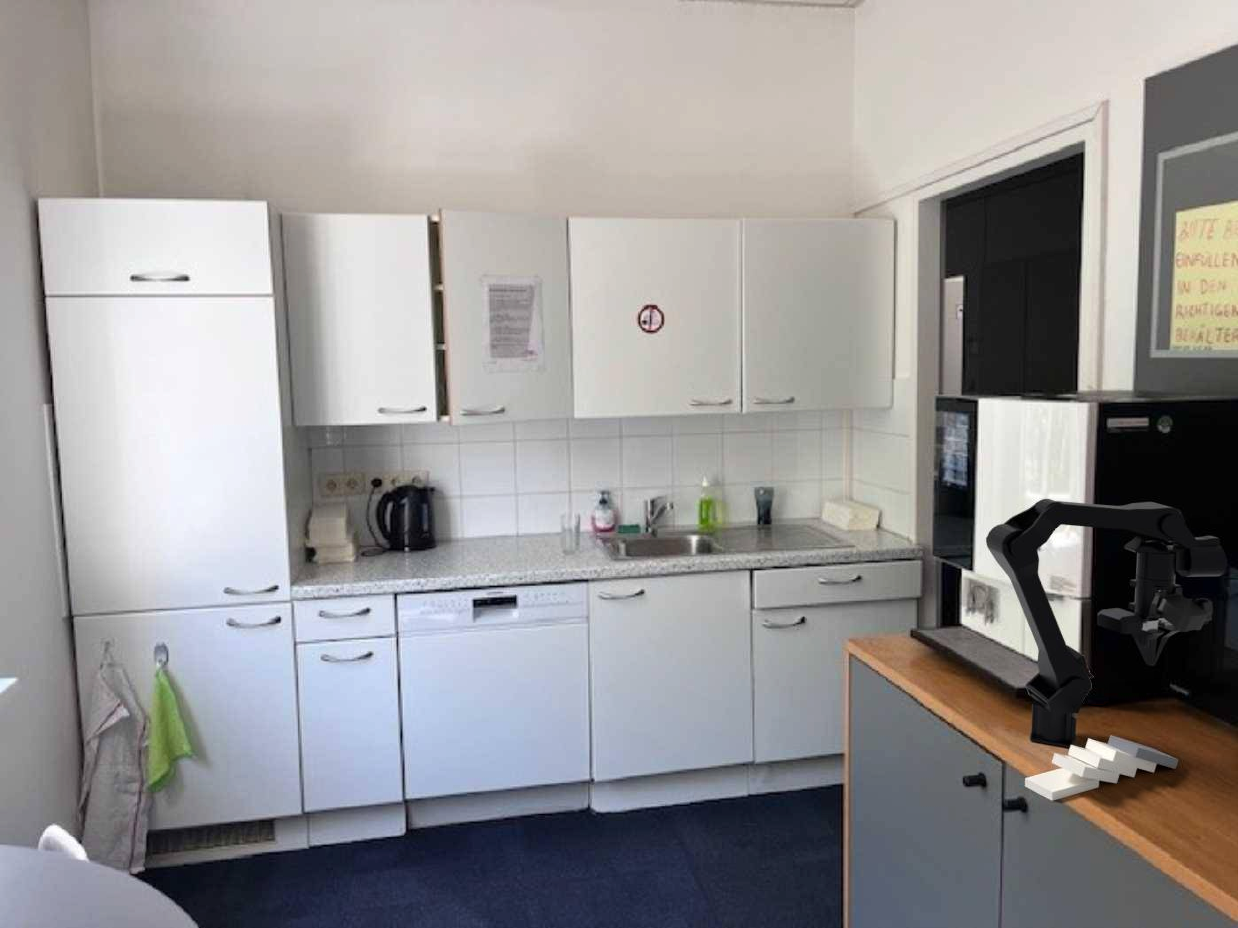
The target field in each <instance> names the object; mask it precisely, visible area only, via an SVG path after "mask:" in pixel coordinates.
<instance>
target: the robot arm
mask: <svg viewBox="0 0 1238 928" xmlns="http://www.w3.org/2000/svg"><path fill="white" fill-rule="evenodd" d="M1061 525H1062V526H1074V527H1075V526H1076V527H1086V528H1094V529H1096V528H1097V529H1108V530H1120V531H1127V532H1131V533H1134V534H1137V535H1141V536H1144V537H1148V538H1152V539H1155V540H1146V539H1145V538H1143V537H1139V536H1136V535H1135V537H1134V538H1133V539H1132V540H1131V541H1129V542H1127V543H1126V544H1124V545H1123V546H1124V549H1125V550H1128V551H1131V552H1134V553H1136V569H1135V570H1136V573H1135V579H1129V586H1130V587H1134V589H1135V590H1134V601H1133V602H1128V609H1129V610H1132V611H1128V610H1125V609H1123V608H1119V607H1115V608H1107V609H1104V608H1103V609H1101V610H1100V611H1098V612H1097V620H1096V622H1097V624H1096V625H1097V626H1098V627H1102V628H1105V629H1108V630H1111V631H1113V632H1115V633H1119V634H1123V635H1130V634H1131V636H1132V638H1133V640H1134V641H1135V643H1136V645H1137V647H1138V649H1139V652H1140V654H1141V656H1142V658H1143V660H1144V663H1145V664H1146V665H1147V666H1150V667H1152V666H1155V665H1156V663H1157V661H1158V660H1159V657H1160V656H1161V653H1162V651H1163V649H1164V647H1165V645H1166V643H1167V641H1168V640H1169V638H1170V637H1171V636H1173V635H1176V634H1177V633H1179V632H1183V633H1187V632H1189V631H1194V630H1195V631H1200V630H1201V629H1202V628H1203V625H1208V624H1209V623H1210V621H1212V620H1213V616H1212V615H1213V612H1214V610H1213V609H1214V608H1213V601H1211V600H1210V599H1208V597H1201V598H1196V599H1195V600H1194V599H1193V598H1186V597H1184V595H1183V588H1182V586H1181V584H1177V583H1176V573H1178V574H1179V575H1180V576H1181V577H1185V578H1186V577H1187V578H1189V577H1194V578H1195V577H1196V578H1197V577H1220V576H1222V575H1223V574H1224V573H1226V570H1227V569H1228V559H1227V556H1226V553H1225V552H1226V551H1224V549H1223V547H1222V546H1221V545H1220V538H1219V537H1216V536H1213V535H1205V536H1199V537H1198V536H1197V537H1196V536H1194V535H1193V533H1192V532H1191V530H1190V528H1188V526H1187V525H1186V520H1185V516H1184V514H1183V513H1182V512H1181V510H1180V509H1178V508H1175V507H1173V506H1168V505H1164V504H1161V503H1157V502H1152V501H1143V502H1134V503H1128V504H1125V505H1108V504H1107V505H1105V504H1095V503H1086V502H1084V503H1083V502H1073V501H1072V502H1071V501H1064V500H1063V501H1062V500H1053V499H1050V498H1042V499H1041V500H1040V499H1039V500H1038V501H1037V502H1035V503H1034V504H1033V505H1032V506H1030V507H1029V508H1027V509H1025V510H1023V511H1021V512H1019V513H1017V514H1016V515H1013V516H1012V517H1010V518H1009V519H1008V520H1006V521H1005V522H1003V523H1000V524H997V525H995V526H993V527H992V528H991V529H990V530H989V532H988V533H987V536H986V537H985V543H986V544H985V545H986V546H987V549H988V550H989V552H990V554H991V555H992V557H993V558H994V560H995V561H996V563H997V565H999V567H1001V569H1002V570H1003V571H1004V573H1005V574H1006V575H1007V576H1008V579H1010V582H1011V584H1012V587H1013V589H1014V592H1015V594H1016V596H1017V600H1018V601H1019V604H1020V607H1021V609H1022V611H1023V614H1024V617H1025V619H1026V622H1027V624H1028V627H1029V629H1030V631H1031V634H1032V636H1033V639H1034V641H1035V644H1036V646H1037V649H1038V652H1037V653H1038V654H1037V661H1036V662H1037V667H1038V672H1037V673H1036V674H1035V675H1034V676H1032V678H1030V680H1029V681H1028V682H1027V683H1026V684H1025V688H1026V690H1027V693H1028V694H1027V695H1028V696H1030V697H1032V698H1033V699H1032V705H1031V729H1030V733H1029V734H1030V735H1029V741H1031V742H1035V743H1041V744H1045V745H1046V744H1048V745H1052V746H1058V747H1065V748H1069V749H1070V746H1071V745H1073V742H1075V741H1076V735H1077V714H1078V713H1080V709H1081V708H1082V706H1083V704H1084V703H1083V701H1084V699H1085V697H1086V696H1087V695H1088V693H1089V691H1090V690H1091V689H1092V683H1091V680H1090V678H1093V677H1094V676H1093V675H1092V674H1091V673H1090V671H1089V670H1088V666H1087V661H1086V659H1085V656H1084V655H1082V654H1080V652H1079V651H1077V650H1076V649H1074V648H1072V647H1071V646H1069V645H1068V644H1067V643H1066V640H1065V638H1064V636H1063V634H1062V631H1061V628H1060V626H1059V624H1058V621H1057V619H1056V616H1055V613H1054V611H1053V608H1052V606H1051V604H1050V600H1049V599H1048V596H1047V593H1046V590H1045V588H1044V585H1043V583H1042V581H1041V578H1040V575H1039V566H1040V557H1039V552H1038V549H1040V548H1041V547H1042V546H1044V545H1045V544H1046V543H1047V542H1048V541H1049V539H1050V538H1051V536H1052V535H1053V533H1054V532H1055V531H1056V530H1057V528H1059V527H1060V526H1061ZM1160 540H1161V541H1160ZM1163 541H1164V542H1163ZM1165 542H1169V543H1172V544H1173V545H1166V544H1165ZM1133 611H1134V612H1133Z"/></svg>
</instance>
